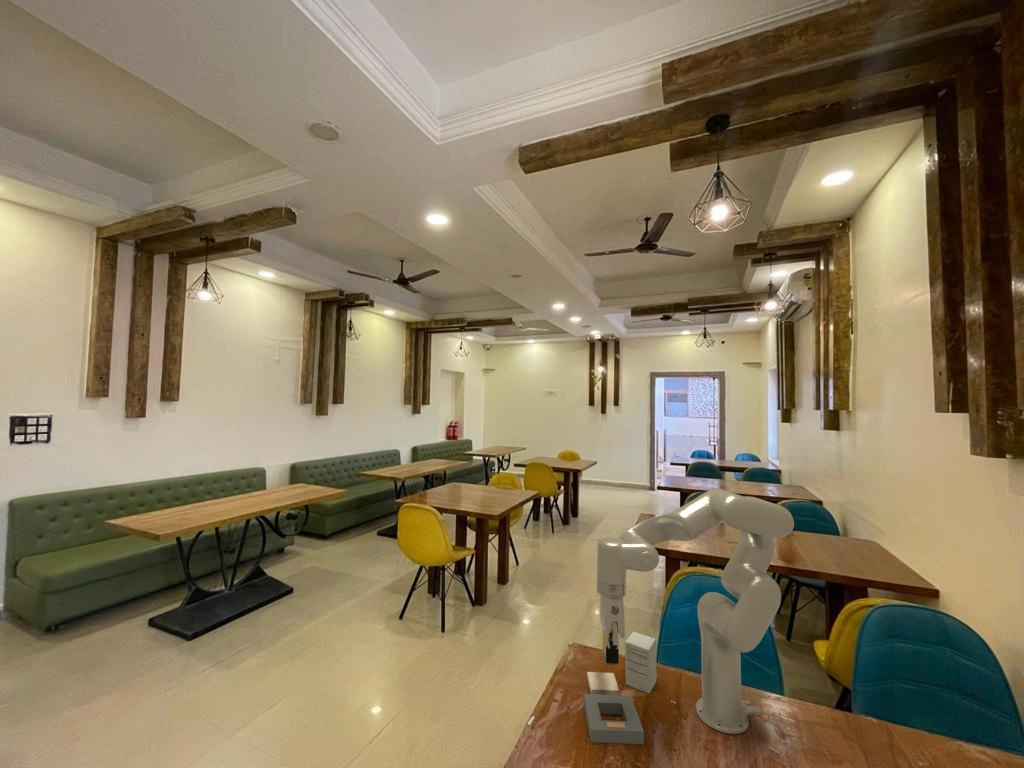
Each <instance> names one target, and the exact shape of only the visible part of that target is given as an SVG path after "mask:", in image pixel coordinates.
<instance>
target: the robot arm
mask: <svg viewBox="0 0 1024 768" xmlns="http://www.w3.org/2000/svg"><path fill="white" fill-rule="evenodd" d="M720 524H724V525H726V526H728V527H730V528H733V529H736V530H739V531H740V538H739V539H740V540H739V542H738V544H737V547H736V548H735V549H734V552H733V553H732V555H731V557H730V559H729V560H728V562H727V564H726V565H725V567H724V569H723V571H722V573H721V576H720V583H721V585H722V586H723V587H724V589H725V590H726V591H727V592H728V593H729V594H730V595H731V596H733V597H735V599H737V600H738V601H737V602H735V601H733V600H731V599H730V598H729V597H727V596H726V595H724V594H721V592H720V593H719V592H715V591H710V592H706V593H705V594H702V596H701V597H700V599H699V600H698V603H697V609H696V610H697V611H696V612H697V620H698V626H699V630H700V640H701V641H700V642H701V643H700V644H701V646H700V649H701V655H700V656H701V698H699V699H698V700H697V701H696V704H695V711H696V714H697V716H698V717H699V719H701V721H702V722H703V723H705V724H706V725H707V726H708V727H710V728H712V729H713V730H716V731H718V732H720V733H725V734H729V735H737V734H742V733H744V732H745V731H747V730H748V728H749V718H748V717H749V716H750V715H758V716H759V715H760V716H761V715H762V710H761V708H760V706H759V705H751V700H746V699H743V700H742V675H741V674H742V671H741V665H742V663H741V657H742V656H741V653H743V654H744V653H749V652H751V651H753V650H754V649H756V647H758V645H759V644H760V643H761V641H762V639H763V637H764V635H765V634H766V632H767V631H768V629H769V627H770V625H771V624H772V621H773V620H774V618H775V616H776V614H777V612H778V611H779V608H780V606H781V600H782V592H781V589H780V586H779V584H778V582H777V581H776V580H775V579H774V578H773V577H771V576H770V575H769V574H767V571H768V569H769V567H770V565H771V563H772V560H773V558H774V556H775V555H774V554H775V542H774V541H775V540H774V539H781V538H785V537H787V536H788V535H790V534H791V533H792V531H793V530H794V527H795V521H794V518H793V515H792V513H791V512H790V511H789V510H788V509H787V508H785V507H784V506H782V505H779V504H777V503H773V502H770V501H767V500H764V499H761V498H758V497H755V496H749V495H748V496H743V495H740V494H737V493H734V492H731V491H728V490H725V489H722V488H712V489H709V490H707V491H705V492H703V493H702V494H700V495H699V496H697V497H694V499H692V500H690V501H688V502H687V503H685V504H684V505H682V506H680V507H679V508H677V509H675V510H674V511H671V512H667V513H664V514H661V515H658V516H654V517H650V518H648V519H645V520H643V521H641V522H639V523H637V524H635V525H634V526H632V527H630V528H629V529H627V530H626V531H624V532H623V533H622V535H620V537H619V538H618V537H613V536H606V537H602V538H600V539H599V540H598V542H597V555H596V556H597V557H596V558H597V563H596V564H597V565H596V567H597V568H596V576H597V577H596V592H597V593H598V595H599V596H600V600H599V601H600V602H599V603H600V604H599V605H600V607H599V614H600V615H599V616H600V622H601V623H600V624H601V627H602V631H603V630H604V632H605V635H606V636H607V646H606V663H607V664H606V663H605V664H606V665H608V664H615V665H618V664H619V661H620V660H619V657H620V656H619V655H620V654H619V653H620V652H619V651H620V648H619V637H620V638H622V639H624V638H625V636H626V634H625V633H626V631H625V629H626V628H625V627H626V626H625V605H624V597H626V594H627V589H626V588H627V570H629V571H634V572H641V573H647V572H651V571H654V570H655V569H656V568H657V567H658V565H659V562H660V555H659V552H658V551H657V549H656V548H655V547H654V545H656V544H660V543H663V542H668V541H669V542H670V541H678V542H690V541H695V540H696V539H697V538H699V537H701V536H702V535H704V534H706V533H707V532H708V531H710V530H711V529H714V528H716V527H717V526H719V525H720ZM609 633H612V634H609ZM610 638H612V641H610Z"/></svg>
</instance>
